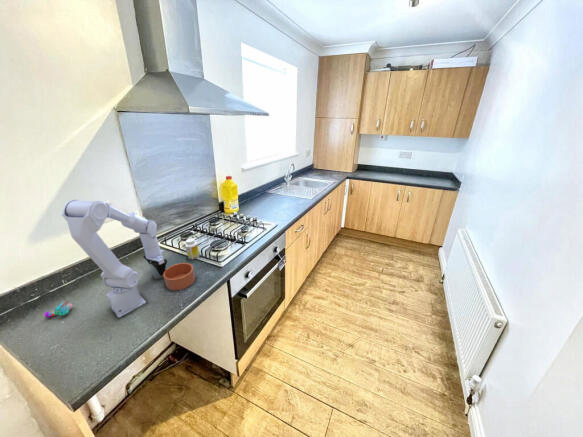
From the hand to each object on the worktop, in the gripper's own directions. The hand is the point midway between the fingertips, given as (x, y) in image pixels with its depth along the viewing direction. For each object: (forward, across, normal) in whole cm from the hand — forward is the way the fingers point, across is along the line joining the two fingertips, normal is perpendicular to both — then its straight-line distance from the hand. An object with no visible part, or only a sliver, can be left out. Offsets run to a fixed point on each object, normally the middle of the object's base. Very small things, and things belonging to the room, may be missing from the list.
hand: (158, 271), depth 105 cm
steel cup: (+3, 0, 0) cm, 3 cm away
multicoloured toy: (+2, -29, -4) cm, 29 cm away
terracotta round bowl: (+3, -12, -4) cm, 12 cm away
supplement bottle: (+3, +2, -18) cm, 18 cm away
